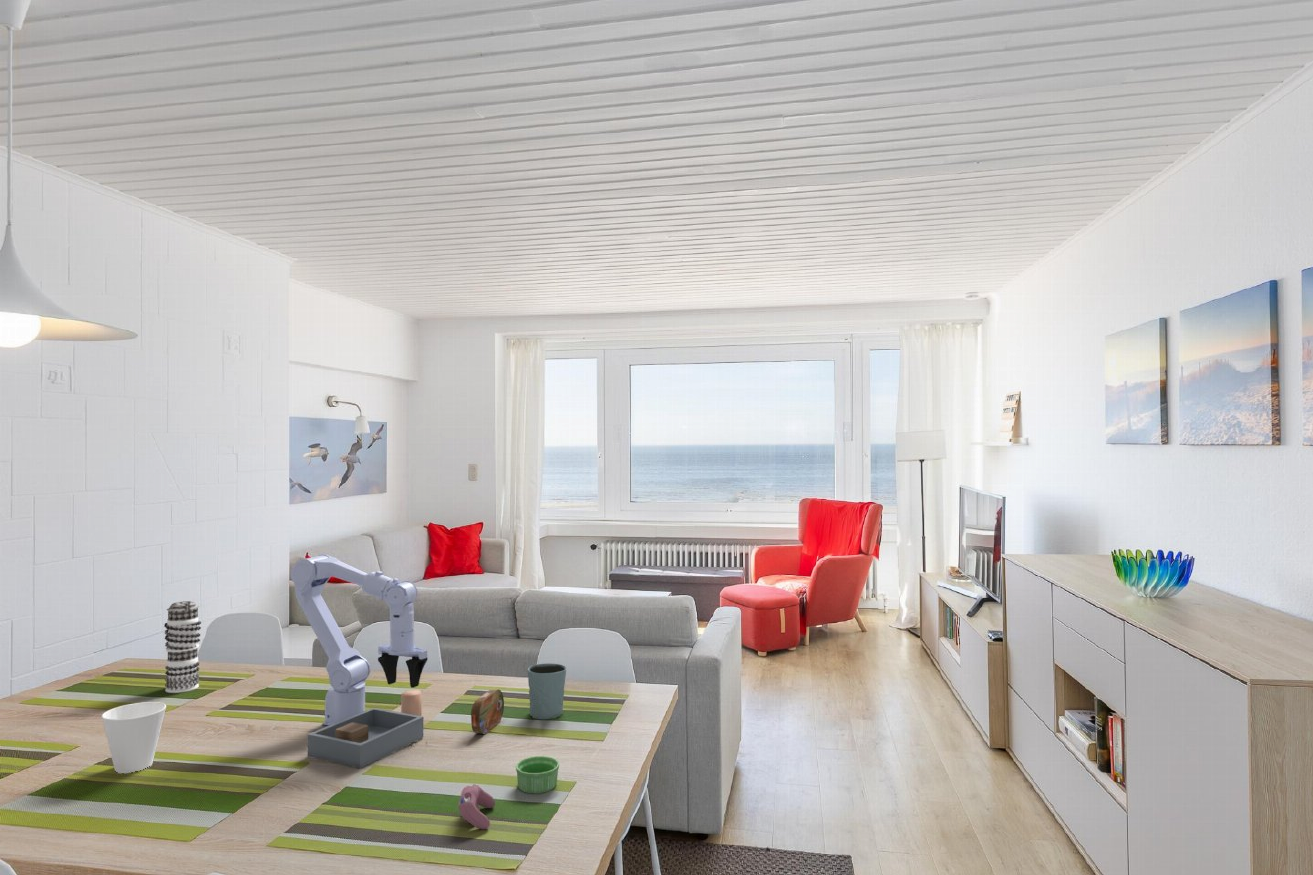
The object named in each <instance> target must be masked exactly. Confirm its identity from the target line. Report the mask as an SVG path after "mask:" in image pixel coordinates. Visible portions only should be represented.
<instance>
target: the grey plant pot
mask: <svg viewBox="0 0 1313 875" xmlns="http://www.w3.org/2000/svg"><path fill="white" fill-rule="evenodd" d="M566 676H567V666H565V665H563V664H559V663H548V662H547V663H538V664H534V665H530V666H529V667H528V668H527V681H528V688H529V690H528V695H529V696H528V697H529V698H528V699H529V715H530V717H531V716H532V717H531V718H533V717H534V718H533V719H537V720H550V718H552V719H556V718H558V717H557V716H559V715H560V716H562V715H561V714H563V709H564V708H563V707H564V696H565V686H566ZM560 716H559V717H560ZM555 717H556V718H555Z"/></svg>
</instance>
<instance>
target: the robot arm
mask: <svg viewBox="0 0 1313 875" xmlns="http://www.w3.org/2000/svg"><path fill="white" fill-rule="evenodd" d="M289 576H290V578H291V581H292V582H293V583H294V590H295V591H294V592H295V593H294V594H295V598H296V601H297V603H298V605H299V606H300V609H301V611H302V612H303V614H304V616H305V618H306V620H307V621H308V624H309V625H310V627H311V628H312V631H313V632H314V634H315V636H316V638H317V640H318V641H319V643H320V645H321V648H322V649H323V650H324V653H325V655H326V656H327V658H328V661H327V664H326V667H325V669H326V671H327V675H328V681H329V685H330V686H331V687H330V688H329V689H328V690H327V692H326V695H325V699H324V721H322V725H324V726H325V725H326V726H330V725H332V724H334V723H337V722H339V721H342V720H344V719H347V718H349V717H352V716H354V715H357V714H359V713H362V712H364V711H366V682H367V679H368V678H369V676H370V674H371V664H370V663H369V660H367V659H366V658H365V657H363V655H361V653H360V652H359V650H357V649H355V648H353V647H351V646H350V645H349V643H348V642H347V640H346V637H345V636H344V634H343V632H342V629H341V628H340V627H339V625H338V624H337V621H336V619H335V618H334V616H333V615H332V612H331V611H330V609H329V607H328V605H327V604H326V601H325V600H324V598H323V596H322V593H323V589H324V587H325V585H326V584H327V583H328V581H329V580H330V579H331V578H336V579H340V580H342V581H345V582H348V583H352V584H353V585H357V586H361V589H362V592H363V593H364V594H367V595H370V596H371V597H374V598H377V599H379V600H381V601H384V602H385V603H386V605H387V606H388V608H389V609H388V610H389V629H390V630H389V634H390V635H389V636H390V638H389V639H390V640H389V641H390V645H387V644H386V645H385V644H383V645H380V646H378V648H377V649H378V652H377V653H378V655H381V656H379V657H377V661H378V663H379V664H380V666H381V667H382V669H383V672H384V675H385V678H386V681H387V685H392V684H395V683H396V682H397V673H398V672H397V670H398V669H397V668H398V662H399V658H400V657H407V658H410V659H407V660H405V664H406V666H407V667H406V668H408V675H409V684H410V685H409V686H410V688H411V689H413V688H417V687H418V686H419V685H420V680H421V676H422V672H423V670H424V667H425V665H426V663H427V661H428V650H427V649H424V648H420V647H419V646H418V647H417V646H415V620H414V619H415V613H414V612H415V610H414V606H415V605H414V602H415V600H416V599H417V597H418V589H417V587H416V585H415V584H414V583H413V582H411V581H410V580H404V581H400V579H399V578H392V577H389V576H386V575H384V572H383V571H381V570H377V571H371V572H369V573H367V572H364V571H362V570H360V569H358V568H356V567H354V566H351V565H350V564H347V563H345V562H343V561H341V560H339V559H338V558H337V557H335V556H330V555H328V554H319V555H318V556H312V557H307V558H300V559H298V560H297V561H296V562H295V563H294V564H293V567H292V570H291V572H290V575H289Z"/></svg>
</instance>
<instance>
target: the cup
mask: <svg viewBox="0 0 1313 875" xmlns="http://www.w3.org/2000/svg"><path fill="white" fill-rule="evenodd" d="M166 709H167V705H166V704H165V703H164V702H158V701H145V702H135V703H131V704H124V705H119V706H117V707H114V708H110V709H108V710H107V711H105V712H103V713H102V714H101V719H102V724H103V727H104V730H105V731H104V732H105V735H106V739H107V744H108V748H109V752H110V756H111V759H112V764H113V768H114V772H115V771H116V772H118V773H117V774H122V773H124V774H131V772H133V773H136V772H135V771H138V772H141V771H144V770H146V769H148V768H150V767H152V766H153V763H154V757H155V754H156V750H157V745H158V743H159V737H160V733H161V728H162V725H163V722H164V721H163V720H164V716H165V713H166ZM149 766H150V767H149ZM147 767H148V768H147ZM145 768H146V769H145ZM143 769H144V770H143ZM140 770H141V771H140ZM116 772H115V773H116Z"/></svg>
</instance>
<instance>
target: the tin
mask: <svg viewBox="0 0 1313 875" xmlns="http://www.w3.org/2000/svg"><path fill="white" fill-rule="evenodd" d="M504 708H505V700H504V695H503V692H502V690H501V689H490V690H487V691H486V692H485V693H483V694H482V695H480V697H478V698H477V699H476V700H474V702H473V704H472V706H471V712H470V716H471V718H470V719H471V720H470V721H471V730H472V731H473V733H474V734H479V735H480V734H482V735H486V734H488V733H489V732H490V731H491V730H492V729H493V728H495V727H496V726H497V725H498V724H500V722H501V720H502V718H503V715H504Z"/></svg>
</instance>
